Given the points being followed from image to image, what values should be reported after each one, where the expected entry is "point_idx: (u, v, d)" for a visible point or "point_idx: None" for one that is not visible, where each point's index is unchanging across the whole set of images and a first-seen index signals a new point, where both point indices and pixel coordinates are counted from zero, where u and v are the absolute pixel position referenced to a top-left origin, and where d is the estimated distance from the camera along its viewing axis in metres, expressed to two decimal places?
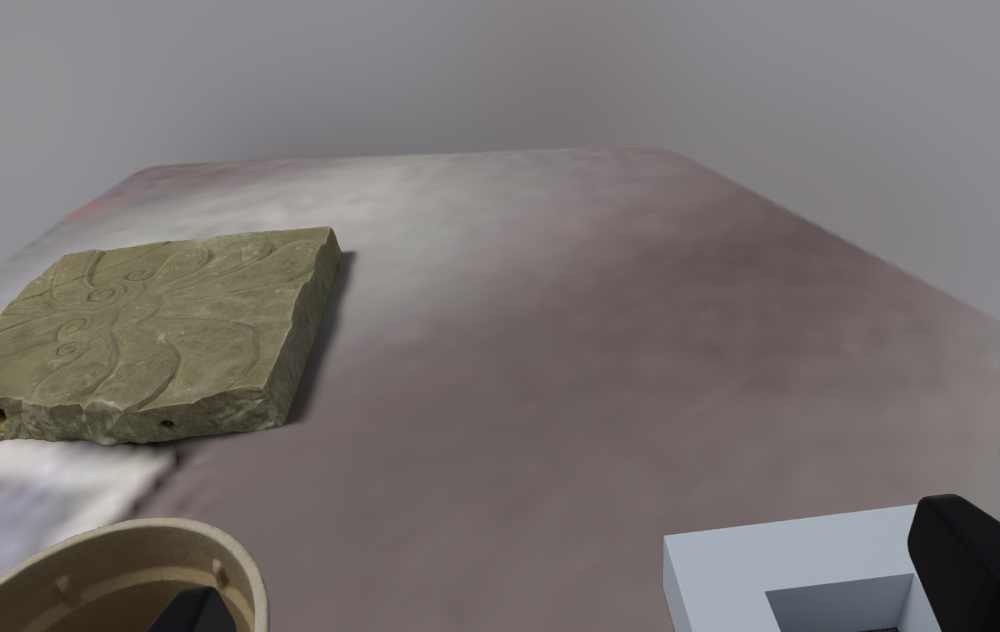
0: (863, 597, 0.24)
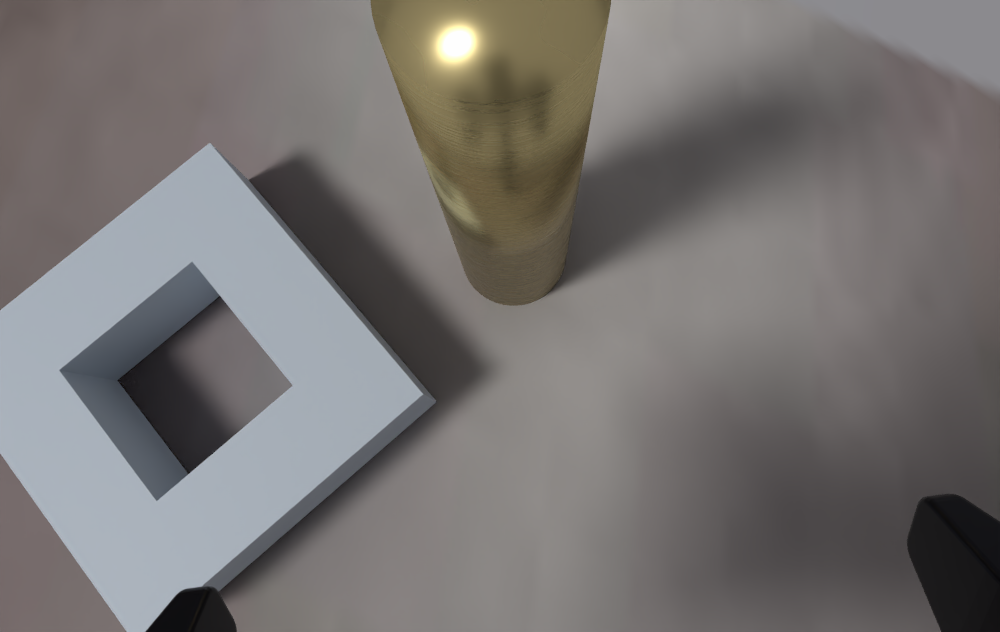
0: (169, 301, 0.22)
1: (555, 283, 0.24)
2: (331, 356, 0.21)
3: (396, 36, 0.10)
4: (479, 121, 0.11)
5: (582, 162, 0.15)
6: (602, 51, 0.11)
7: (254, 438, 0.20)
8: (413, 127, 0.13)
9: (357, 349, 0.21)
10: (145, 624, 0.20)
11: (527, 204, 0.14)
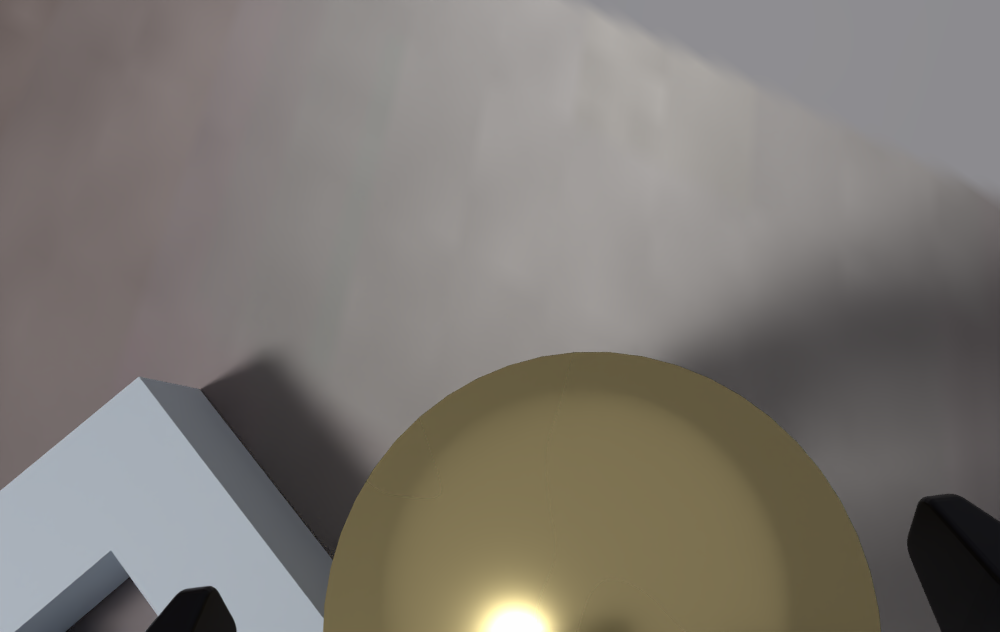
0: (83, 589, 0.16)
1: None
2: None
3: None
4: None
5: None
6: None
7: None
8: None
9: None
10: None
11: None
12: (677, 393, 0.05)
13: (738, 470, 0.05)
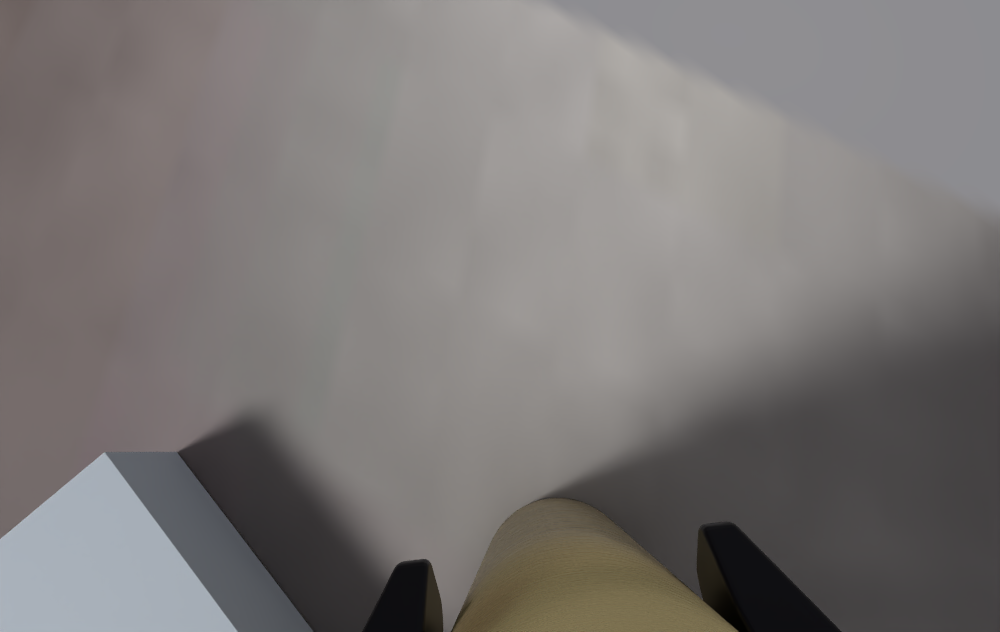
0: None
1: None
2: None
3: None
4: None
5: None
6: None
7: None
8: None
9: None
10: None
11: None
12: None
13: None
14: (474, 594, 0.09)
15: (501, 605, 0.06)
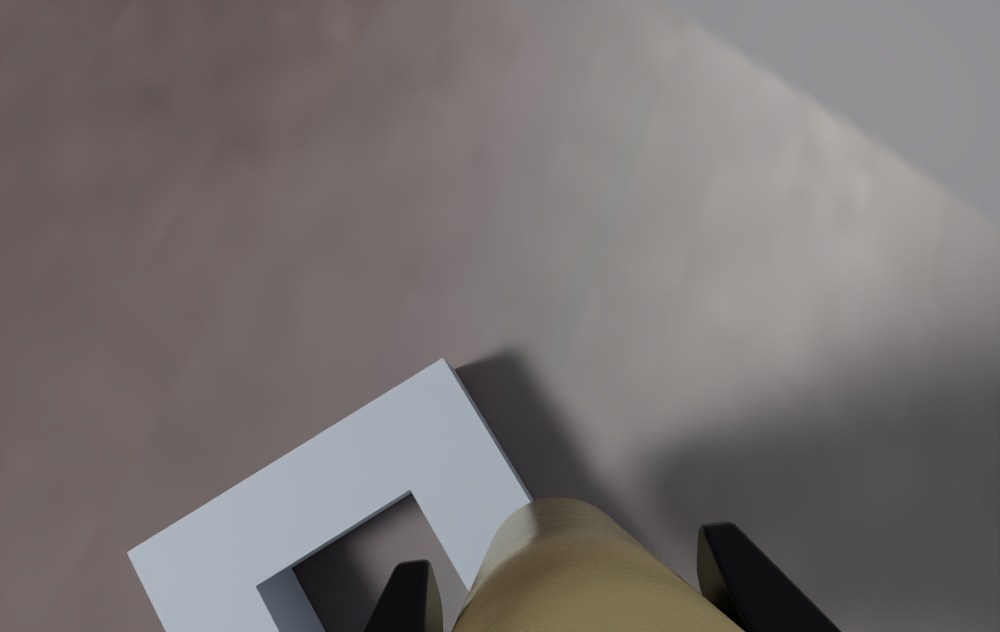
0: (371, 515, 0.21)
1: None
2: None
3: None
4: None
5: None
6: None
7: None
8: None
9: None
10: None
11: None
12: None
13: None
14: (476, 592, 0.09)
15: (503, 602, 0.06)
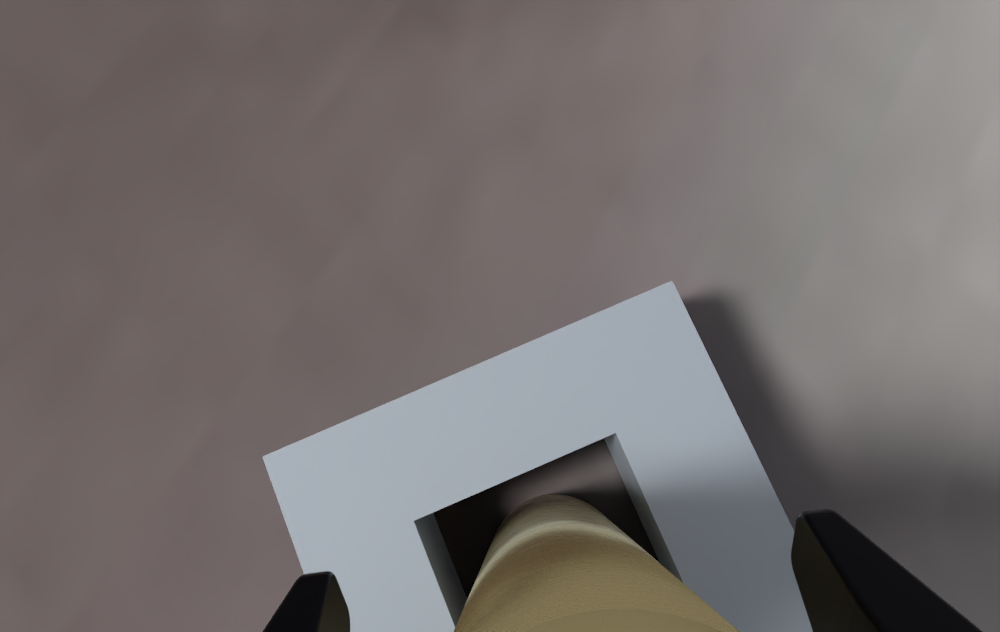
0: None
1: None
2: (773, 626, 0.15)
3: None
4: None
5: None
6: None
7: None
8: None
9: (810, 628, 0.15)
10: None
11: None
12: None
13: None
14: (486, 569, 0.10)
15: (510, 570, 0.08)
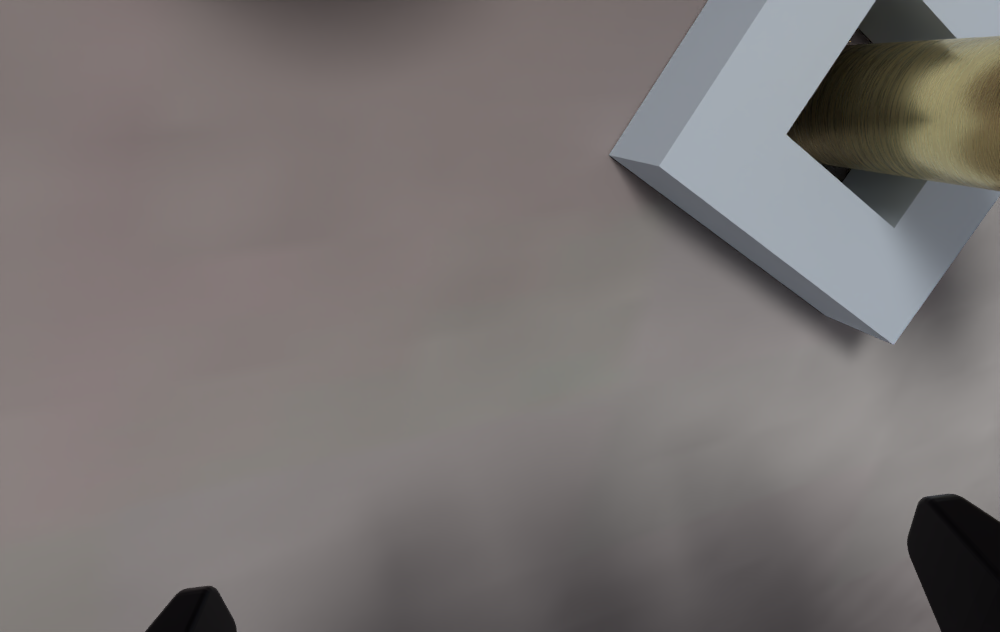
0: None
1: None
2: (919, 253, 0.21)
3: None
4: None
5: None
6: None
7: (848, 210, 0.20)
8: None
9: (925, 274, 0.22)
10: (678, 170, 0.18)
11: None
12: None
13: None
14: None
15: None
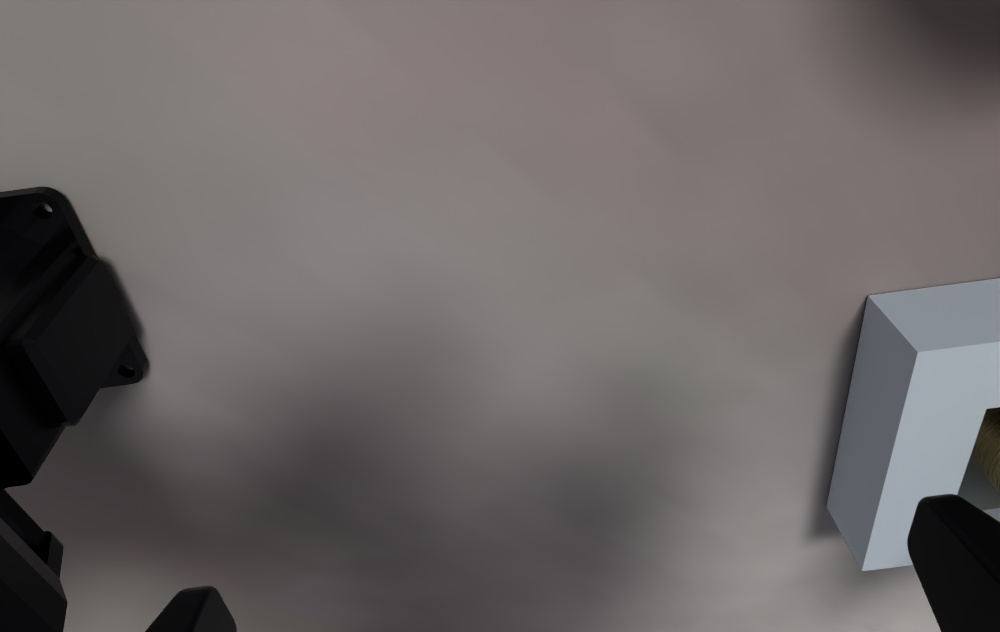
0: None
1: None
2: None
3: None
4: None
5: None
6: None
7: (948, 480, 0.24)
8: None
9: None
10: (922, 366, 0.21)
11: None
12: None
13: None
14: None
15: None
